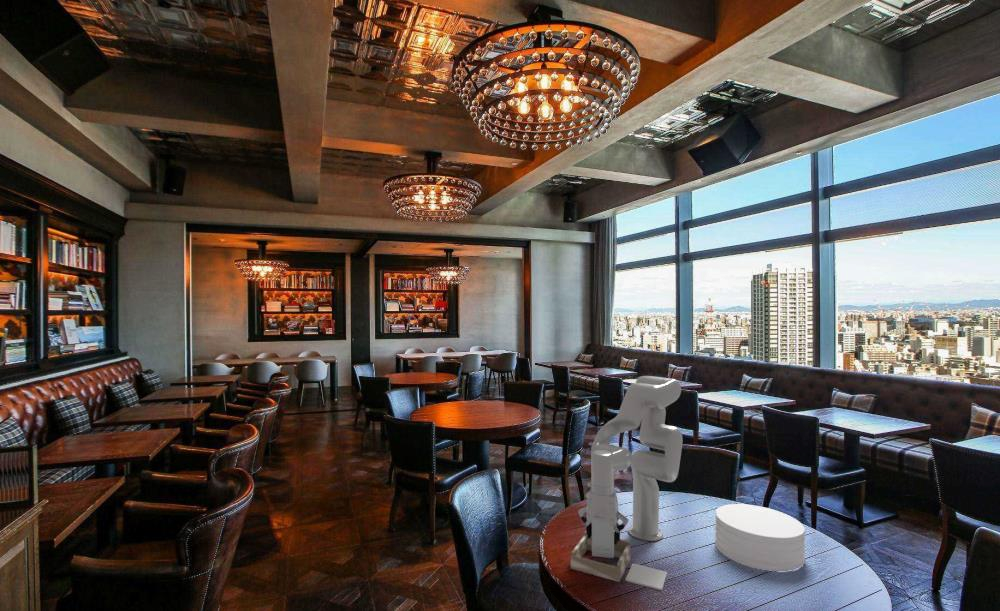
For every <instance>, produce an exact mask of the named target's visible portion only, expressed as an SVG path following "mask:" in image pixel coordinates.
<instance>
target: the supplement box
mask: <svg viewBox="0 0 1000 611" xmlns="http://www.w3.org/2000/svg"><path fill="white" fill-rule="evenodd" d="M591 523H592V551H591V556H592V557H599V558H606V559H607V558H608V559H614V558H615V556H614V532H615V530H614V526H610V522H609V520H607V519H602V518H598V517H592V522H591Z"/></svg>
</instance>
